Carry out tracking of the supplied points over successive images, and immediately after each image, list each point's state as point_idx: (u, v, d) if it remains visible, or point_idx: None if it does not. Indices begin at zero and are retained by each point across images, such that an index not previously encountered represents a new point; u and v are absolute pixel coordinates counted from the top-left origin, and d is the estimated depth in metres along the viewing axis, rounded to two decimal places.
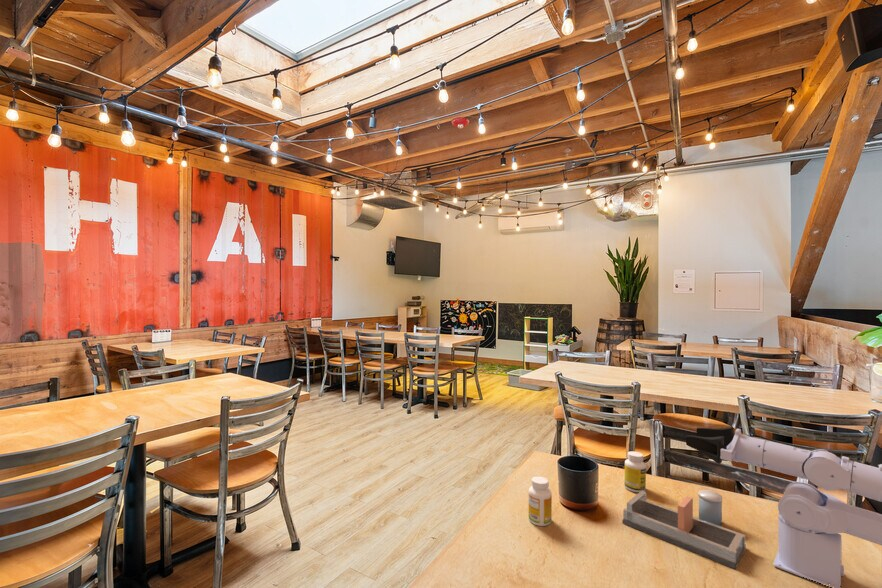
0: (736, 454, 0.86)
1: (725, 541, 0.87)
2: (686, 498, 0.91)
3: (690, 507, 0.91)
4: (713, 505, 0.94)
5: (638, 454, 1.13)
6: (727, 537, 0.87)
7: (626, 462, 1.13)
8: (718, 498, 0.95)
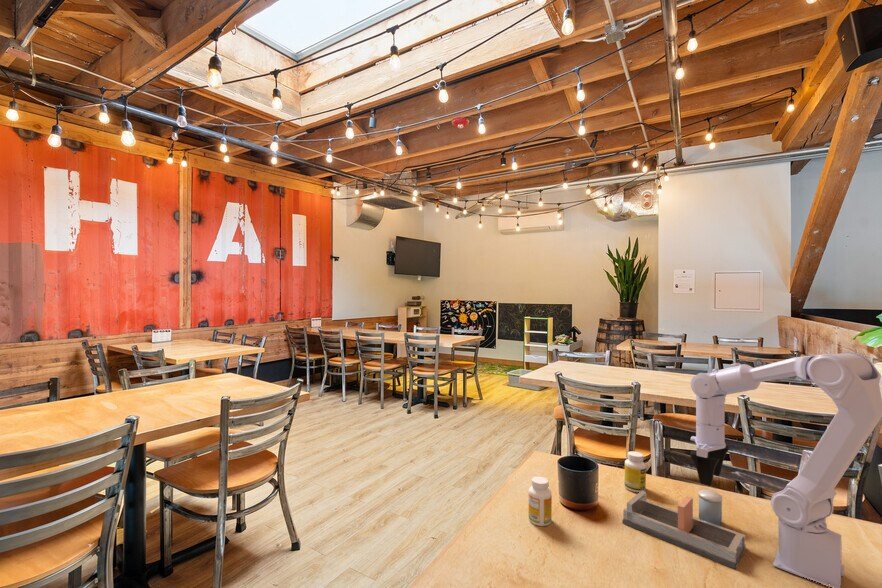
0: (710, 444, 0.94)
1: (725, 541, 0.87)
2: (686, 498, 0.91)
3: (690, 507, 0.91)
4: (713, 505, 0.94)
5: (638, 454, 1.13)
6: (727, 537, 0.87)
7: (626, 462, 1.13)
8: (718, 498, 0.95)
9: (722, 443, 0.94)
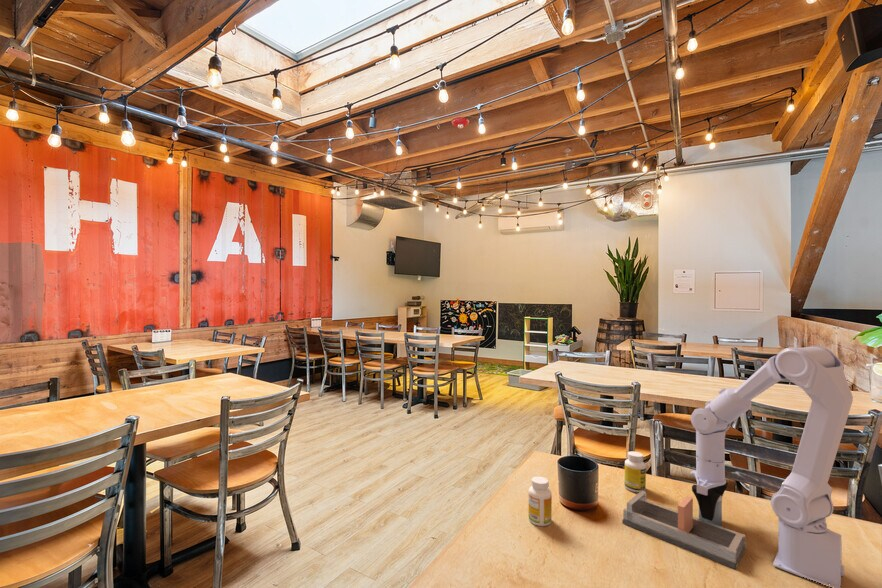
0: (710, 480, 0.94)
1: (725, 541, 0.87)
2: (686, 498, 0.91)
3: (690, 507, 0.91)
4: None
5: (638, 454, 1.13)
6: (727, 537, 0.87)
7: (626, 462, 1.13)
8: None
9: (722, 479, 0.94)
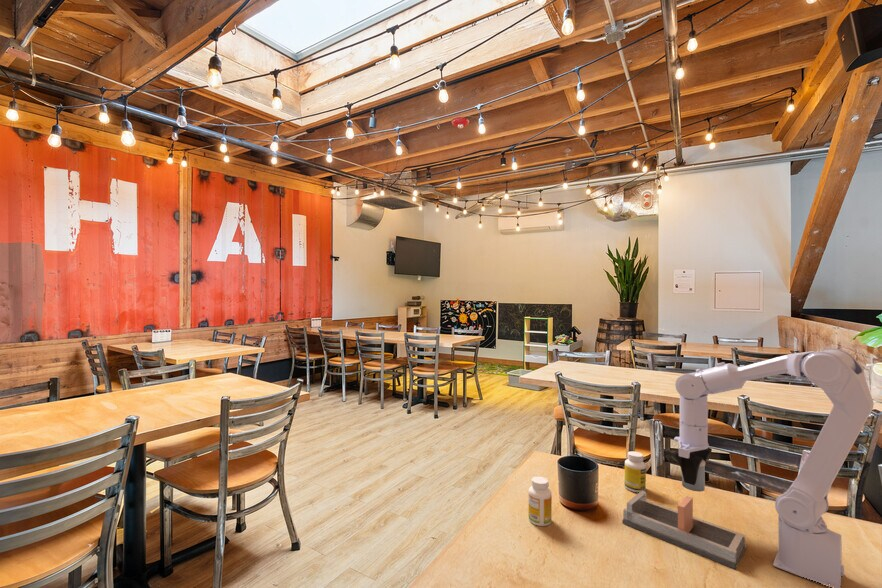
0: (692, 445, 0.94)
1: (725, 541, 0.87)
2: (686, 498, 0.91)
3: (690, 507, 0.91)
4: None
5: (638, 454, 1.13)
6: (727, 537, 0.87)
7: (626, 462, 1.13)
8: (701, 462, 0.94)
9: (705, 444, 0.94)
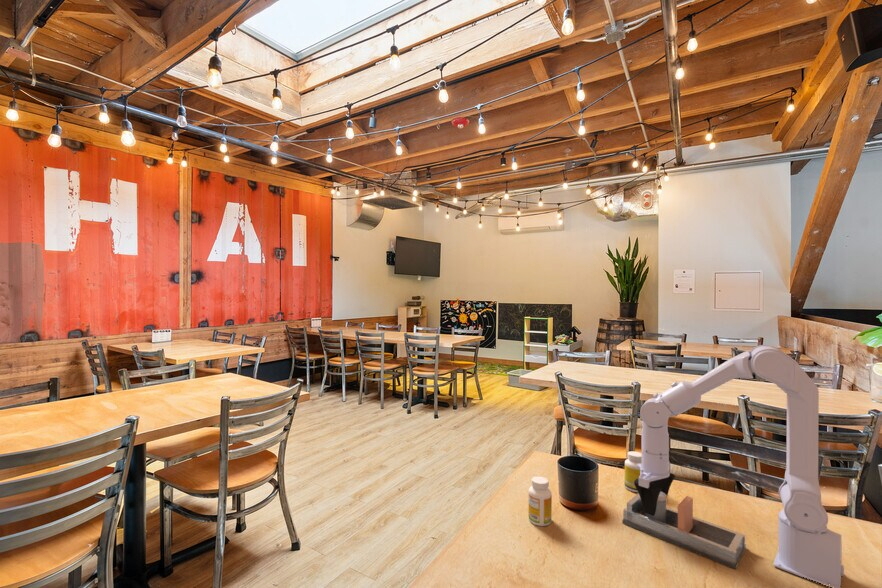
0: (653, 473, 0.92)
1: (725, 541, 0.87)
2: (686, 498, 0.91)
3: (690, 507, 0.91)
4: (657, 504, 0.93)
5: (638, 454, 1.13)
6: (727, 537, 0.87)
7: (626, 462, 1.13)
8: (662, 497, 0.93)
9: (666, 472, 0.92)
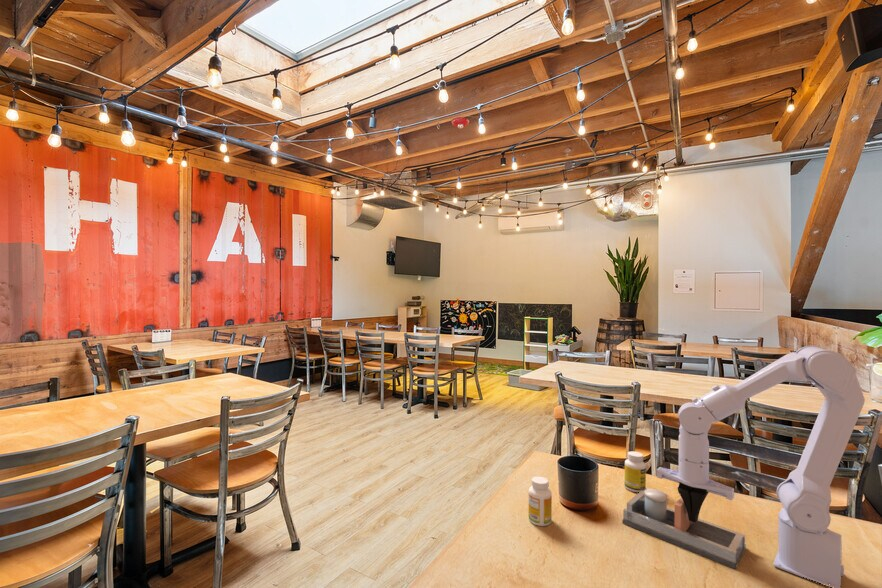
0: (678, 475, 0.91)
1: (725, 541, 0.87)
2: None
3: None
4: (658, 504, 0.93)
5: (638, 454, 1.13)
6: (727, 537, 0.87)
7: (626, 462, 1.13)
8: (663, 497, 0.93)
9: (685, 479, 0.88)
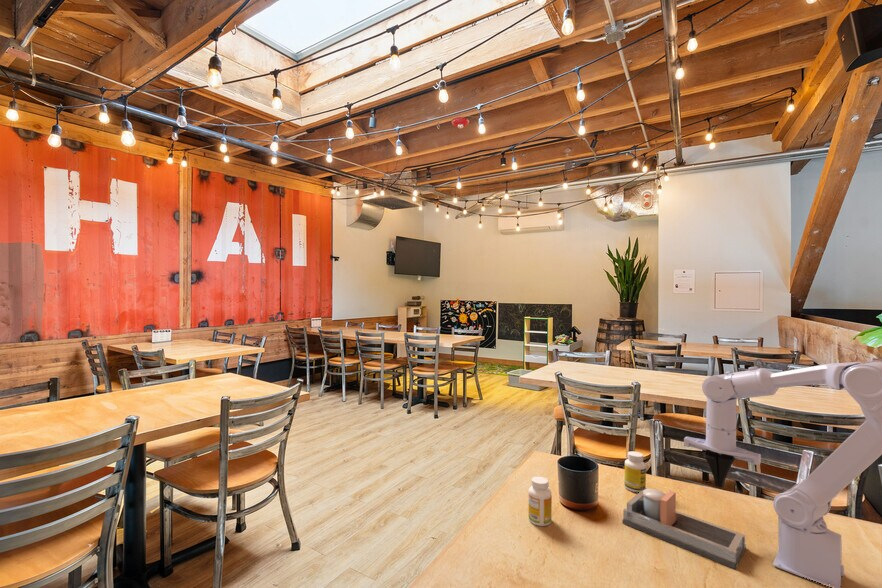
0: (705, 443, 0.94)
1: (725, 541, 0.87)
2: (669, 492, 0.94)
3: (673, 501, 0.93)
4: (657, 504, 0.93)
5: (638, 454, 1.13)
6: (727, 537, 0.87)
7: (626, 462, 1.13)
8: (662, 497, 0.93)
9: (712, 446, 0.91)
